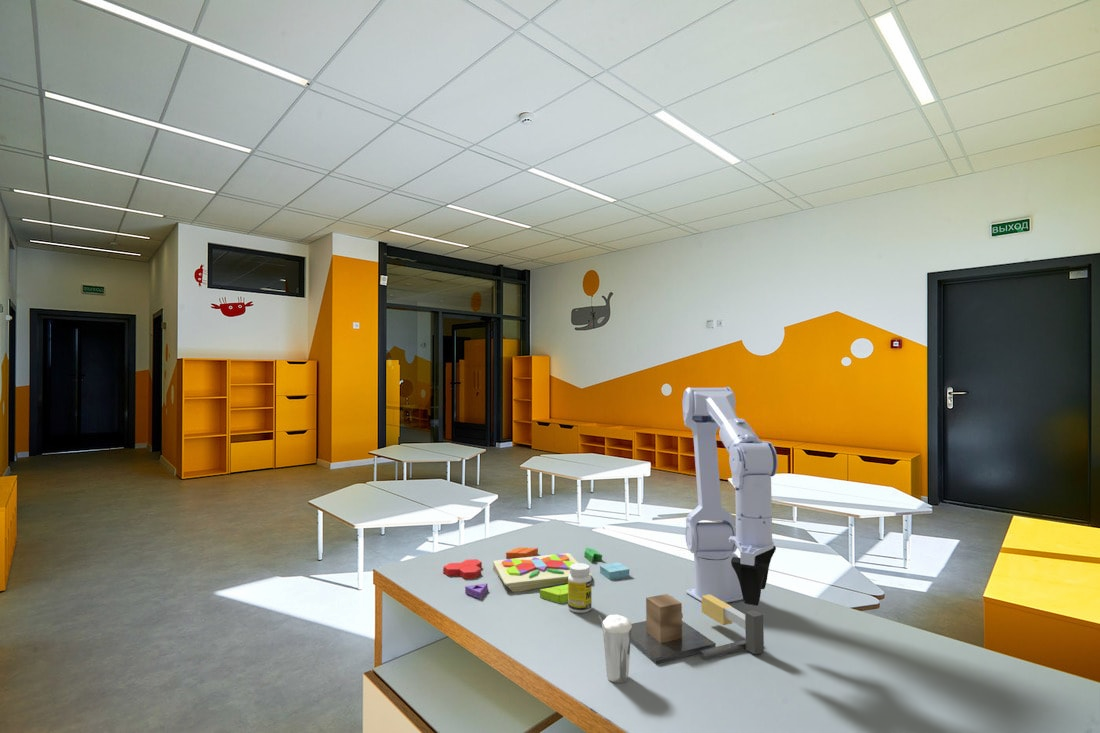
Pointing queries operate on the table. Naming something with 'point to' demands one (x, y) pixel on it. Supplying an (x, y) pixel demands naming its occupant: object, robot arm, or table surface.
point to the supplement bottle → (579, 588)
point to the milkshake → (617, 647)
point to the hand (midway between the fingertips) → (755, 595)
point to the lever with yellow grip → (737, 621)
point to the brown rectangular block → (664, 618)
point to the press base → (679, 644)
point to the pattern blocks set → (532, 572)
